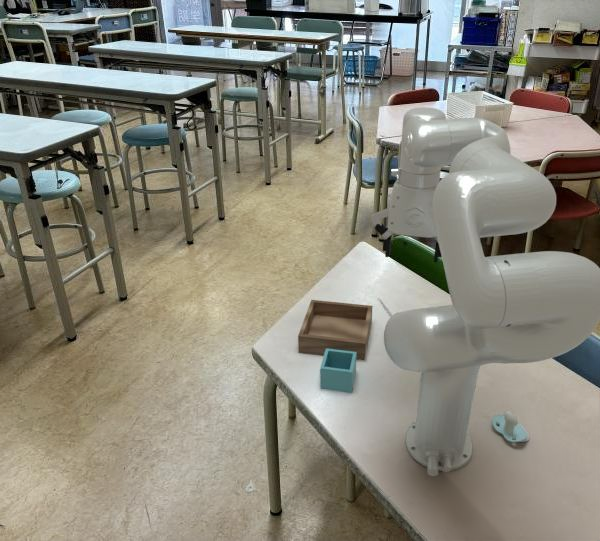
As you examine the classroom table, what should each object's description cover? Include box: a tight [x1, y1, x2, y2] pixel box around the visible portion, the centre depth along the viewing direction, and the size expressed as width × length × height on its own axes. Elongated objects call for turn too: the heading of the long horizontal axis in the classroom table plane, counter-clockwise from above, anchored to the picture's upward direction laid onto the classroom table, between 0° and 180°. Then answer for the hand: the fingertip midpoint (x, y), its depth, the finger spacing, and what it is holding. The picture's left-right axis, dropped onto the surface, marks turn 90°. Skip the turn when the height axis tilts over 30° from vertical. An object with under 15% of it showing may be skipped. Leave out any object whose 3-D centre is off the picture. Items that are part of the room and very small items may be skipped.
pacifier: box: [491, 410, 530, 443], centre depth 107 cm, size 7×6×6 cm
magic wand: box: [378, 299, 393, 317], centre depth 146 cm, size 2×25×2 cm
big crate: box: [297, 299, 374, 361], centre depth 136 cm, size 16×16×5 cm
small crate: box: [319, 348, 357, 394], centre depth 122 cm, size 7×7×6 cm
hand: (411, 256), depth 111 cm, fingers open, 9 cm apart
